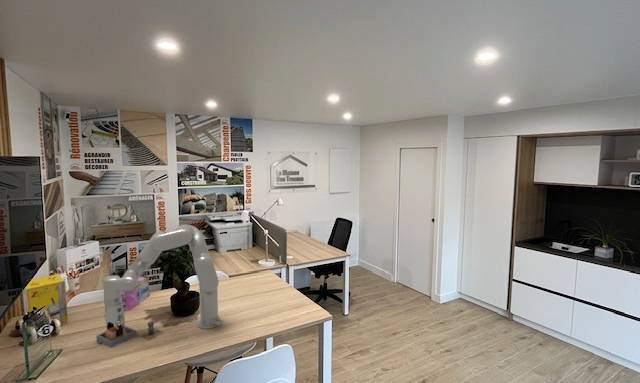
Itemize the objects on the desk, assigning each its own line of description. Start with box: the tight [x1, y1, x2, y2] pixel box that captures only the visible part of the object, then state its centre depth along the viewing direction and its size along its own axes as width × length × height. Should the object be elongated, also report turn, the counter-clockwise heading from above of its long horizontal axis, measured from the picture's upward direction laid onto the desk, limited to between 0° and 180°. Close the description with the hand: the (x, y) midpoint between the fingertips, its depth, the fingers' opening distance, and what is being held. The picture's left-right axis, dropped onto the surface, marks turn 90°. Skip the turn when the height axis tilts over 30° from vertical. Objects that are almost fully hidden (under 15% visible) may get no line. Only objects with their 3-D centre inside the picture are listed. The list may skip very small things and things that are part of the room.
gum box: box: [121, 275, 151, 311], centre depth 214 cm, size 24×8×14 cm, turn 177°
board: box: [137, 321, 165, 341], centre depth 176 cm, size 9×9×7 cm
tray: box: [95, 324, 138, 348], centre depth 172 cm, size 13×13×4 cm
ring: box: [104, 325, 126, 341], centre depth 172 cm, size 6×8×5 cm
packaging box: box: [22, 273, 69, 326], centre depth 186 cm, size 16×16×25 cm
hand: (115, 333), depth 171 cm, fingers open, 7 cm apart
